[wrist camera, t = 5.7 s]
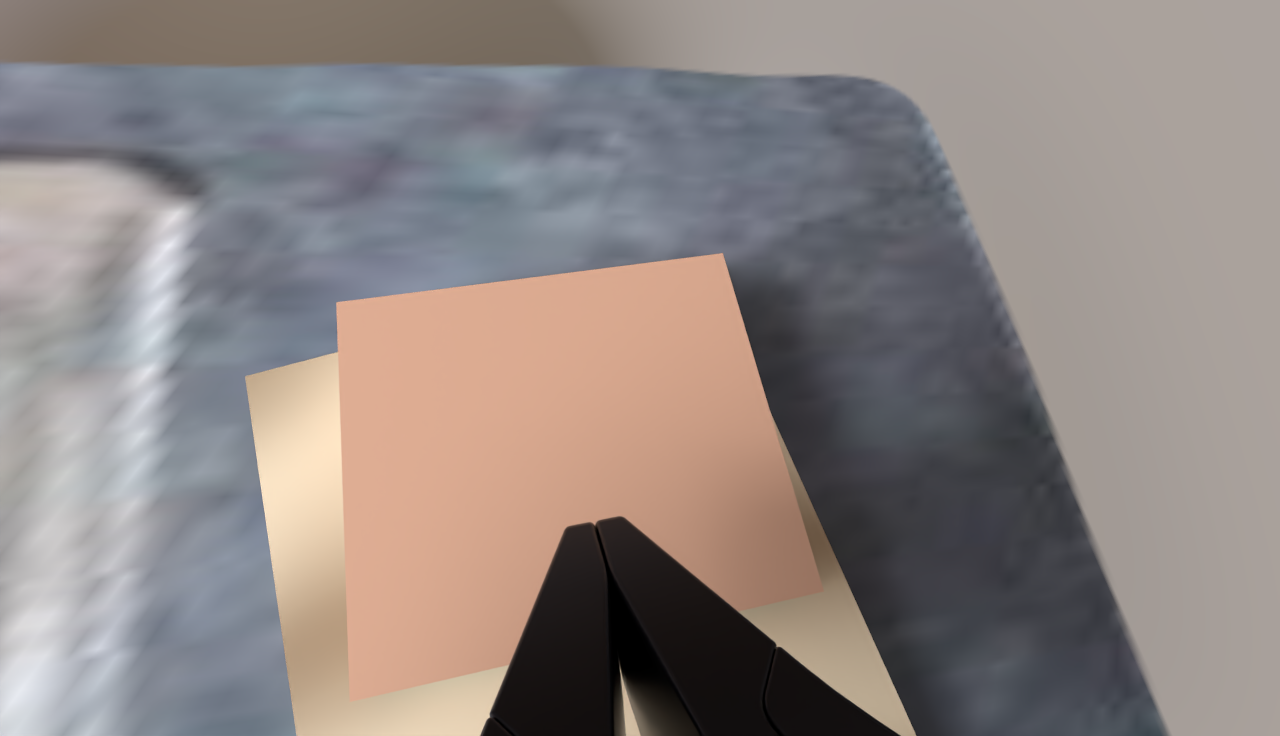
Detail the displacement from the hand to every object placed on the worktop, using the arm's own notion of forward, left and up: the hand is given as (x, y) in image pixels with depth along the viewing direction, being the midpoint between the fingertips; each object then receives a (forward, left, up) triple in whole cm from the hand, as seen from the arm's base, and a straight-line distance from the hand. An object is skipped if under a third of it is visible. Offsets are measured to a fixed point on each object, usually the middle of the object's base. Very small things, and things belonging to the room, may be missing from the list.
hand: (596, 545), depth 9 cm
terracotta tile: (-1, 0, -4) cm, 5 cm away
